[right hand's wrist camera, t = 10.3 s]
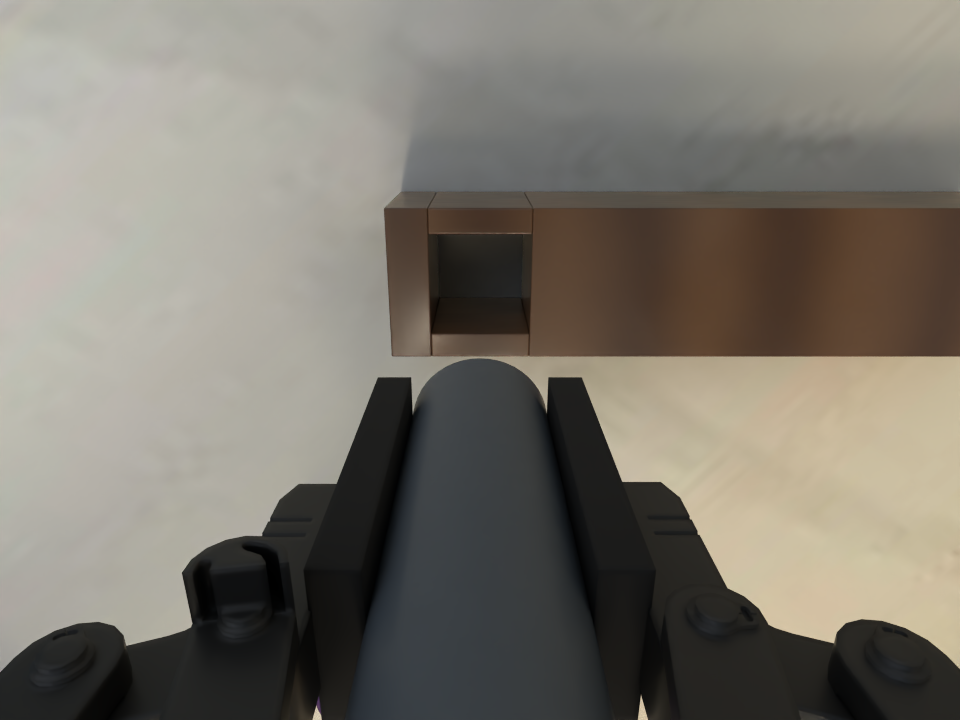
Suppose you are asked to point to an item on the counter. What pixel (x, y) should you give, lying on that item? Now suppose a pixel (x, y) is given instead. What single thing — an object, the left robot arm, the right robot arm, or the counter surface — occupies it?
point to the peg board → (686, 274)
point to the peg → (479, 568)
